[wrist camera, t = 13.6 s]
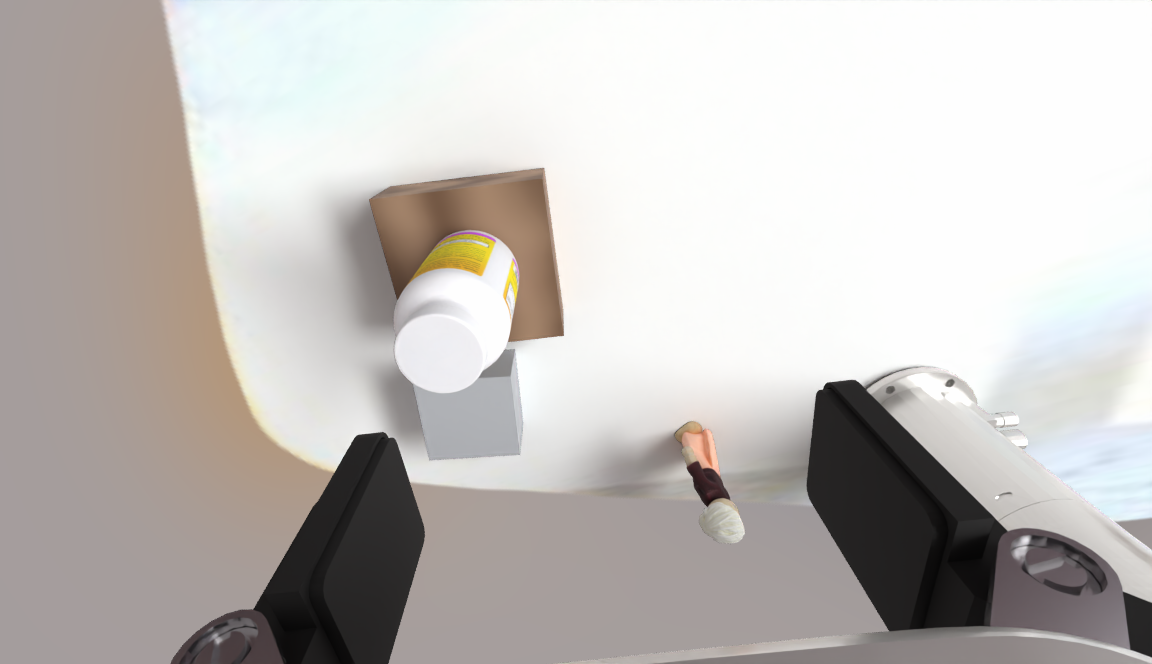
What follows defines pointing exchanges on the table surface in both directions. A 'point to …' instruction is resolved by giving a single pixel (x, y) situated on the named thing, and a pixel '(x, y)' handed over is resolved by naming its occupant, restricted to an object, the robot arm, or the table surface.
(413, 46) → the table surface
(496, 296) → the supplement bottle
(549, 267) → the walnut block
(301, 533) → the robot arm
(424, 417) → the grey block
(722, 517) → the grandmother figurine
